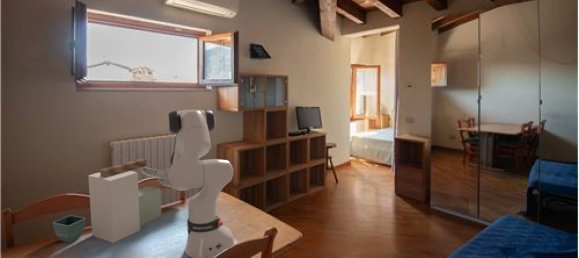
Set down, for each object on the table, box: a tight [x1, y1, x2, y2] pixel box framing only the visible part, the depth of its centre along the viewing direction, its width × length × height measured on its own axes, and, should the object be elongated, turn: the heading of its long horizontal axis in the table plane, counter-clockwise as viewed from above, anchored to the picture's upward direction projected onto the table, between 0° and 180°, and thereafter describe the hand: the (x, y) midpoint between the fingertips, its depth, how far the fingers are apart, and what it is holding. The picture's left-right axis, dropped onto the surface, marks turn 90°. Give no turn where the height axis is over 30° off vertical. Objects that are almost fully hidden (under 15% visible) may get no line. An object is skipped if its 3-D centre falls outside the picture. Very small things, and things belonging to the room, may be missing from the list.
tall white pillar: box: [87, 170, 141, 244], centre depth 160 cm, size 14×14×28 cm
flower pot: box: [52, 214, 86, 243], centre depth 155 cm, size 9×9×9 cm
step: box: [138, 185, 162, 227], centre depth 175 cm, size 15×8×15 cm, turn 154°
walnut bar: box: [99, 158, 148, 177], centre depth 163 cm, size 22×4×3 cm, turn 154°
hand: (149, 170), depth 176 cm, fingers open, 8 cm apart
